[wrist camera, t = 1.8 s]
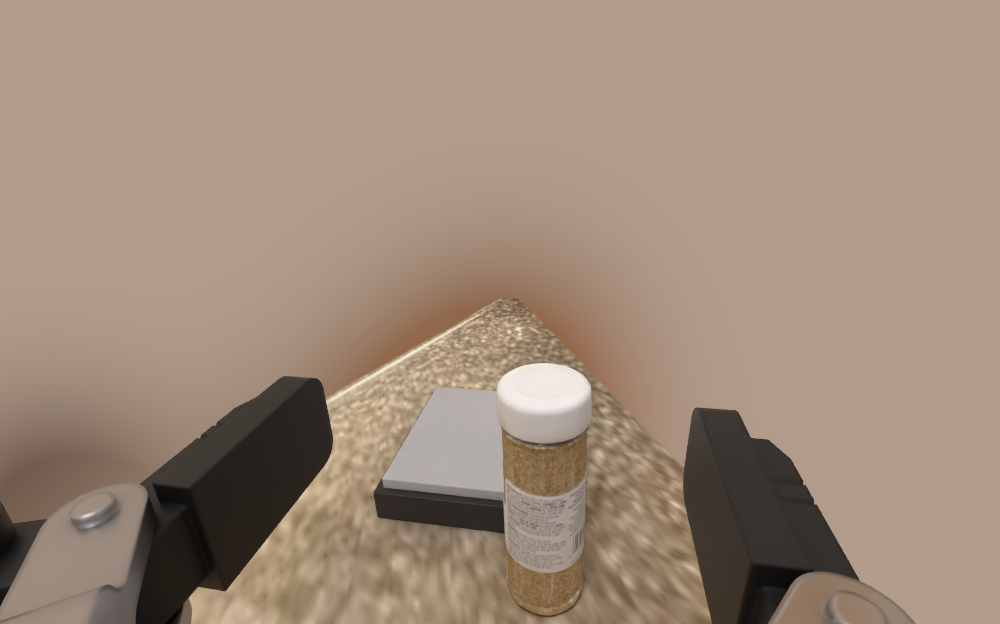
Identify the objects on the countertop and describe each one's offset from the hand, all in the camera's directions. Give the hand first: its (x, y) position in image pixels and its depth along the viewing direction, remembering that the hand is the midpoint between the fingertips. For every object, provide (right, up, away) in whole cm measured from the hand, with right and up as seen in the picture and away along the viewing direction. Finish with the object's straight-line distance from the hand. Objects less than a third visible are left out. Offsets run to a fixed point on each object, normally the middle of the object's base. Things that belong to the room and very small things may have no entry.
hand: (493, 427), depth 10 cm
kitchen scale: (-1, -10, +27) cm, 29 cm away
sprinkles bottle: (+3, -14, +18) cm, 22 cm away
